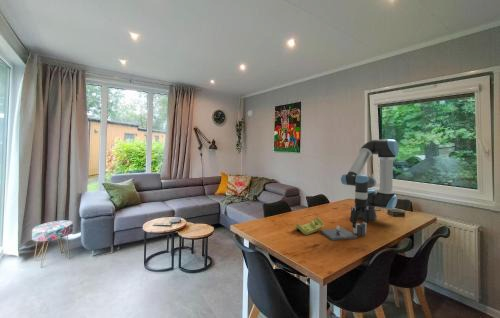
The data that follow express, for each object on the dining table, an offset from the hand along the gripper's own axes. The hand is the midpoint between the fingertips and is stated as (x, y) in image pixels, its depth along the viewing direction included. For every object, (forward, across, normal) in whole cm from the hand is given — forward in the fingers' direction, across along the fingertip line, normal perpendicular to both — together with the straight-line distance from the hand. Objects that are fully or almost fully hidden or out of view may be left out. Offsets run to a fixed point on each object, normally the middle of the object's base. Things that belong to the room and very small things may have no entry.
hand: (359, 232), depth 152 cm
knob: (+1, 0, 0) cm, 1 cm away
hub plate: (+1, +15, -2) cm, 15 cm away
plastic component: (+2, +29, -14) cm, 32 cm away
